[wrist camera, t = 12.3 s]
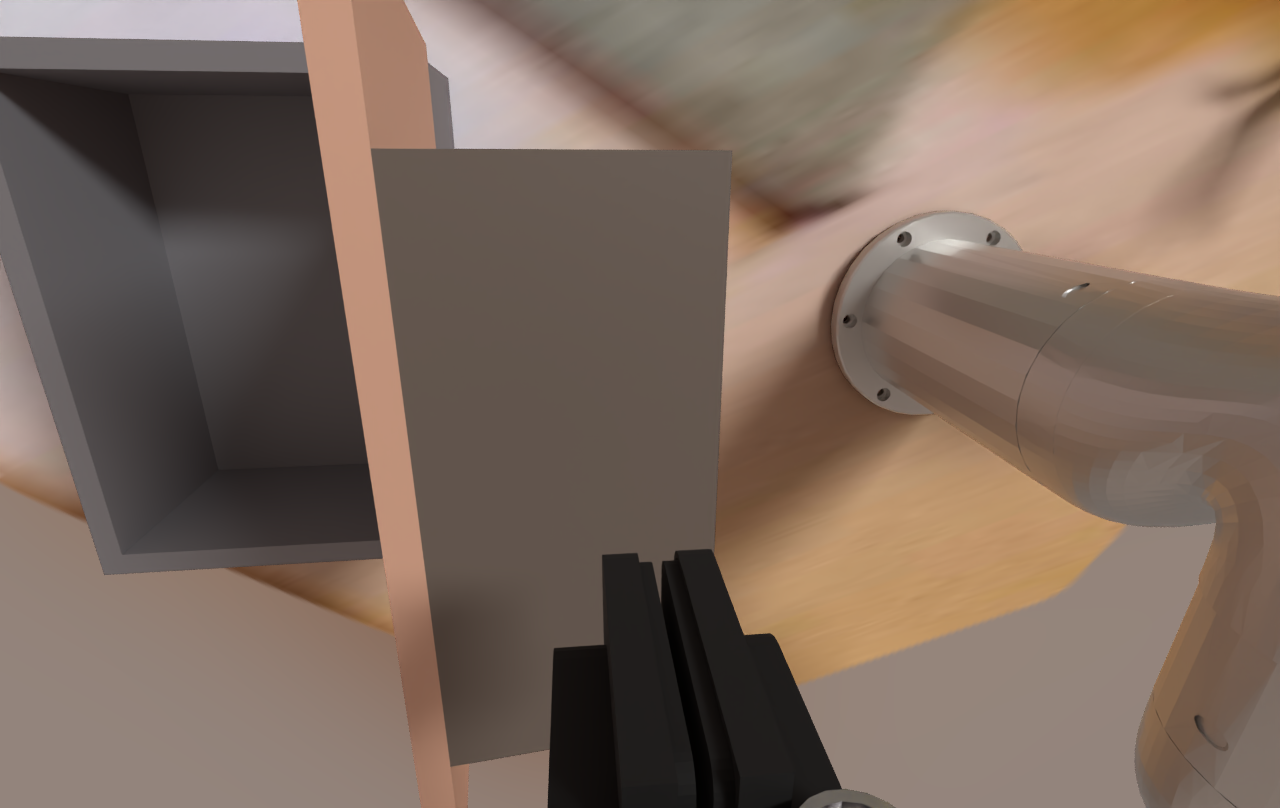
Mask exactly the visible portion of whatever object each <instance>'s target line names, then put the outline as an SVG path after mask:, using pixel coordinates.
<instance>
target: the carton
mask: <svg viewBox="0 0 1280 808" xmlns="http://www.w3.org/2000/svg"><path fill="white" fill-rule="evenodd" d="M428 71H429V81H430V92H431V102H432V112H433V122H434V132H435V143H436V149H454V140H453V128H452V117H451V106H450V95H449V83H448V78H447V77H446V76H444V75H443V74H442V73H441V72H439V71H438V70H437V69H435V68H434V67H433V66H431V65H430V64H429V63H428ZM0 254H1V258H2V261H3V264H4V267H5V270H6V273H7V276H8V279H9V282H10V285H11V288H12V292H13V295H14V298H15V301H16V304H17V307H18V310H19V313H20V316H21V319H22V322H23V325H24V329H25V332H26V335H27V338H28V341H29V344H30V347H31V350H32V353H33V356H34V359H35V363H36V366H37V369H38V372H39V375H40V378H41V381H42V384H43V387H44V390H45V393H46V396H47V400H48V403H49V406H50V409H51V412H52V415H53V418H54V421H55V424H56V427H57V430H58V433H59V437H60V440H61V443H62V446H63V449H64V452H65V455H66V458H67V461H68V464H69V467H70V471H71V474H72V477H73V480H74V483H75V486H76V489H77V492H78V495H79V498H80V501H81V504H82V508H83V511H84V514H85V517H86V520H87V523H88V526H89V529H90V532H91V535H92V538H93V542H94V544H95V548H96V551H97V554H98V557H99V560H100V563H101V566H102V569H103V572H104V575H110V574H127V573H144V572H160V571H178V570H195V569H211V568H229V567H246V566H263V565H280V564H297V563H314V562H331V561H348V560H365V559H382V558H383V555H382V548H381V542H380V535H379V529H378V522H377V516H376V509H375V503H374V496H373V490H372V483H371V477H370V470H369V464H368V457H367V451H366V444H365V438H364V431H363V425H362V418H361V412H360V405H359V399H358V392H357V386H356V379H355V373H354V366H353V360H352V353H351V347H350V340H349V334H348V327H347V321H346V314H345V308H344V301H343V295H342V288H341V281H340V275H339V268H338V262H337V255H336V249H335V242H334V236H333V229H332V223H331V216H330V210H329V203H328V197H327V190H326V184H325V177H324V171H323V164H322V158H321V151H320V145H319V138H318V132H317V125H316V119H315V112H314V106H313V99H312V93H311V86H310V80H309V73H308V67H307V60H306V54H305V47H304V42H253V41H201V40H149V39H96V38H44V37H0Z"/></svg>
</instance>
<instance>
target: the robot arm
mask: <svg viewBox="0 0 1280 808" xmlns="http://www.w3.org/2000/svg"><path fill="white" fill-rule="evenodd" d="M899 235H900V236H901V238H900V240H899V241H898V242H897V238H898V236H899ZM987 236H988V237H987ZM986 238H987V239H986ZM846 315H847V317H848V318H847V320H846V321H845V322H843V319H844V317H845V316H846ZM831 335H832V345H833V349H834V353H835V357H836V360H837V362H838V364H839V367H840V369H841V371H842V373H843V375H844V376H845V377H846V379H847V380H848V381H849V382H850V384H851V385H852V386H853V388H854V389H856V390H857V391H858V392H859V393H860V394H862V395H863V396H864V397H865V398H867V399H868V400H869V401H871V402H872V403H874V404H875V405H877V406H879V407H881V408H884V409H887V410H889V411H892V412H895V413H901V414H907V415H930V414H936V415H937V416H939V417H940V418H942V419H943V420H945V421H946V422H948V423H949V424H951V425H952V426H954V427H955V428H957V429H958V430H960V431H961V432H963V433H964V434H966V435H967V436H969V437H970V438H972V439H973V440H975V441H976V442H978V443H979V444H981V445H982V446H984V447H985V448H987V449H988V450H990V451H991V452H993V453H994V454H996V455H997V456H999V457H1000V458H1002V459H1003V460H1005V461H1006V462H1008V463H1009V464H1011V465H1012V466H1014V467H1015V468H1017V469H1018V470H1020V471H1021V472H1023V473H1024V474H1026V475H1027V476H1029V477H1030V478H1032V479H1033V480H1035V481H1037V482H1038V483H1040V484H1041V485H1043V486H1045V487H1046V488H1048V489H1049V490H1051V491H1052V492H1054V493H1055V494H1057V495H1058V496H1060V497H1061V498H1063V499H1064V500H1066V501H1067V502H1069V503H1071V504H1073V505H1074V506H1076V507H1078V508H1080V509H1082V510H1083V511H1085V512H1088V513H1090V514H1092V515H1095V516H1098V517H1100V518H1103V519H1106V520H1109V521H1113V522H1118V523H1122V524H1127V525H1133V526H1142V527H1182V526H1193V525H1202V524H1211V523H1216V527H1215V533H1214V538H1213V541H1212V544H1211V546H1210V549H1209V552H1208V555H1207V558H1206V560H1205V563H1204V565H1203V568H1202V570H1201V572H1200V575H1199V584H1198V586H1197V589H1196V591H1195V593H1194V596H1193V598H1192V600H1191V603H1190V605H1189V607H1188V609H1187V612H1186V614H1185V616H1184V618H1183V621H1182V623H1181V625H1180V628H1179V630H1178V632H1177V634H1176V637H1175V639H1174V642H1173V644H1172V646H1171V648H1170V651H1169V653H1168V655H1167V657H1166V660H1165V662H1164V664H1163V667H1162V669H1161V671H1160V673H1159V676H1158V678H1157V680H1156V683H1155V685H1154V688H1153V690H1152V693H1151V695H1150V698H1149V700H1148V702H1147V705H1146V708H1145V711H1144V714H1143V717H1142V720H1141V723H1140V726H1139V729H1138V733H1137V738H1136V745H1135V760H1134V762H1135V773H1136V779H1137V784H1138V788H1139V792H1140V795H1141V797H1142V799H1143V802H1144V804H1145V806H1146V808H1280V296H1273V295H1266V294H1260V293H1253V292H1246V291H1239V290H1233V289H1227V288H1221V287H1216V286H1210V285H1205V284H1199V283H1194V282H1188V281H1183V280H1176V279H1170V278H1165V277H1159V276H1154V275H1148V274H1143V273H1138V272H1132V271H1127V270H1121V269H1116V268H1110V267H1105V266H1099V265H1094V264H1089V263H1083V262H1078V261H1072V260H1067V259H1061V258H1056V257H1050V256H1045V255H1040V254H1034V253H1029V252H1023V250H1022V249H1021V247H1020V245H1019V244H1018V242H1017V241H1016V240H1015V239H1014V238H1013V237H1012V236H1011V235H1010V234H1009V233H1008V232H1007V231H1006V230H1005V229H1004V228H1003V227H1001V226H999V225H998V224H996V223H995V222H993V221H991V220H990V219H987V218H984V217H981V216H978V215H975V214H972V213H966V212H958V211H934V212H929V213H924V214H919V215H915V216H913V217H910V218H908V219H906V220H903V221H901V222H899V223H896V224H895V225H893V226H892V227H890V228H889V229H887V230H886V231H884V232H882V233H881V234H879V235H878V236H877V237H876V238H875V239H874V240H873V241H872V242H871V243H870V244H868V245H867V246H866V247H865V248H864V249H863V250H862V252H861V253H860V254H859V255H858V257H857V258H856V259H855V261H854V262H853V263H852V264H851V266H850V267H849V269H848V271H847V273H846V275H845V277H844V279H843V281H842V282H841V284H840V287H839V290H838V293H837V296H836V299H835V302H834V306H833V313H832V320H831ZM880 389H881V390H880ZM879 390H880V392H879V393H878V391H879ZM602 588H603V633H604V645H591V646H577V647H562V648H554V651H553V671H552V699H551V728H550V757H549V784H548V785H549V786H548V808H895V807H894V806H892V805H891V804H890V803H888V802H886V801H884V800H881V799H879V798H877V797H875V796H873V795H870V794H868V793H864V792H859V791H854V790H848V789H842V788H841V786H840V783H839V781H838V779H837V777H836V774H835V772H834V770H833V767H832V765H831V763H830V760H829V759H828V756H827V754H826V752H825V749H824V747H823V744H822V742H821V740H820V738H819V736H818V733H817V731H816V729H815V726H814V724H813V722H812V720H811V717H810V715H809V712H808V710H807V708H806V706H805V703H804V701H803V699H802V697H801V694H800V692H799V690H798V687H797V685H796V683H795V680H794V678H793V676H792V674H791V671H790V669H789V667H788V664H787V662H786V660H785V658H784V655H783V653H782V651H781V648H780V646H779V644H778V642H777V640H776V639H775V637H774V636H773V635H772V634H770V633H769V634H754V635H744V634H743V632H742V629H741V626H740V623H739V621H738V618H737V615H736V613H735V610H734V607H733V605H732V602H731V599H730V597H729V594H728V591H727V588H726V586H725V583H724V580H723V578H722V575H721V572H720V570H719V567H718V564H717V562H716V559H715V556H714V553H713V551H712V550H711V549H696V550H678V551H675V554H674V560H671V561H662V569H661V602H660V597H659V592H658V587H657V583H656V578H655V573H654V568H653V564H652V562H639V557H638V553H623V554H605V555H602Z"/></svg>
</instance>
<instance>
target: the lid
mask: <svg viewBox="0 0 1280 808" xmlns="http://www.w3.org/2000/svg"><path fill="white" fill-rule="evenodd" d="M297 2H298V8H299V15H300V21H301V28H302V34H303V41H304V47H305V54H306V60H307V67H308V73H309V80H310V86H311V93H312V99H313V106H314V112H315V119H316V125H317V132H318V138H319V145H320V151H321V158H322V164H323V171H324V177H325V184H326V190H327V197H328V203H329V210H330V216H331V223H332V229H333V236H334V242H335V249H336V255H337V262H338V268H339V275H340V281H341V288H342V295H343V301H344V308H345V314H346V321H347V327H348V334H349V340H350V347H351V353H352V360H353V366H354V373H355V379H356V386H357V392H358V399H359V405H360V412H361V418H362V425H363V431H364V438H365V444H366V451H367V457H368V464H369V470H370V477H371V483H372V490H373V496H374V503H375V509H376V516H377V522H378V529H379V535H380V542H381V548H382V555H383V561H384V568H385V574H386V581H387V587H388V594H389V600H390V607H391V613H392V620H393V626H394V633H395V639H396V645H397V652H398V659H399V665H400V672H401V678H402V685H403V692H404V698H405V705H406V711H407V718H408V724H409V731H410V737H411V744H412V750H413V757H414V763H415V770H416V776H417V782H418V789H419V795H420V802H421V808H468V779H469V764H470V763H475V762H481V761H487V760H493V759H498V758H504V757H509V756H515V755H521V754H527V753H532V752H538V751H544V750H549V749H550V728H551V699H552V671H553V651H554V648H562V647H577V646H591V645H604V633H603V588H602V555H605V554H623V553H638V557H639V562H652V564H653V568H654V573H655V578H656V583H657V587H658V592H659V597H660V602H661V569H662V561H671V560H674V554H675V551H678V550H696V549H711V550H712V551H713V553H714V546H715V523H716V501H717V479H718V456H719V434H720V412H721V390H722V367H723V345H724V323H725V300H726V278H727V256H728V233H729V211H730V189H731V167H732V151H725V150H551V149H436V143H435V132H434V122H433V112H432V102H431V92H430V81H429V71H428V61H427V51H426V44H425V42H424V40H423V38H422V36H421V34H420V32H419V30H418V28H417V26H416V24H415V22H414V20H413V18H412V16H411V14H410V12H409V10H408V8H407V6H406V4H405V2H404V0H297Z"/></svg>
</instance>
